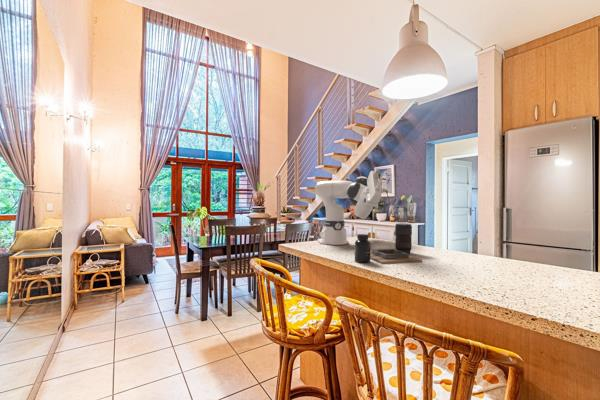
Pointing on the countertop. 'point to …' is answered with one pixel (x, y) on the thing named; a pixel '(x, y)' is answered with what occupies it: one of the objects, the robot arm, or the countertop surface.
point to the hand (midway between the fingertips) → (379, 174)
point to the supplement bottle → (362, 249)
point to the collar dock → (392, 256)
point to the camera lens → (403, 237)
